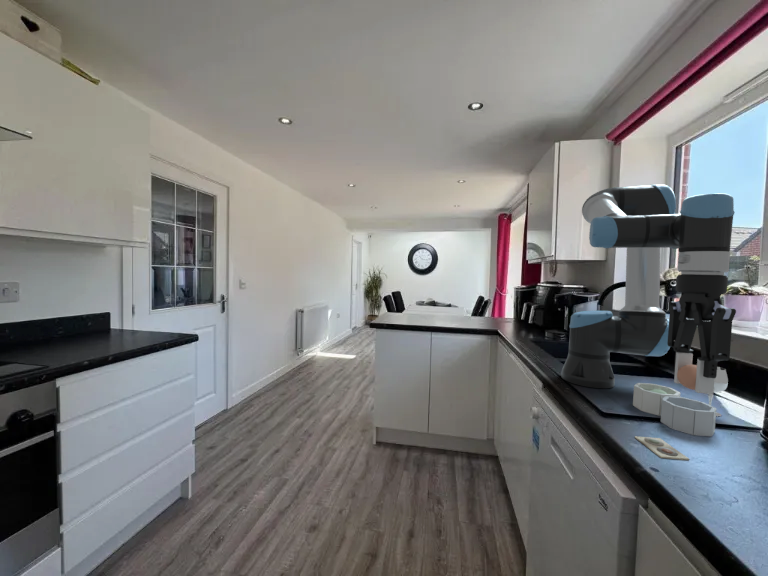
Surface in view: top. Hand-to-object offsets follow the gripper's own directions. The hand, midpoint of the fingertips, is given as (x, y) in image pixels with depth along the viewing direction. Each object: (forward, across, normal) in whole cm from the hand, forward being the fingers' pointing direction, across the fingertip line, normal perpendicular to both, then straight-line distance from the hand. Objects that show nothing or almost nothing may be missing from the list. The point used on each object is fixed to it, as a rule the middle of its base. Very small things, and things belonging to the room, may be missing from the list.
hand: (692, 387), depth 69 cm
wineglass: (+13, -21, +20) cm, 31 cm away
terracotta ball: (0, 0, 0) cm, 0 cm away
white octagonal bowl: (+13, -21, +7) cm, 25 cm away
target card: (+13, +1, -6) cm, 14 cm away
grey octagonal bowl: (+13, -11, +7) cm, 18 cm away
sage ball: (+12, -21, +7) cm, 25 cm away
